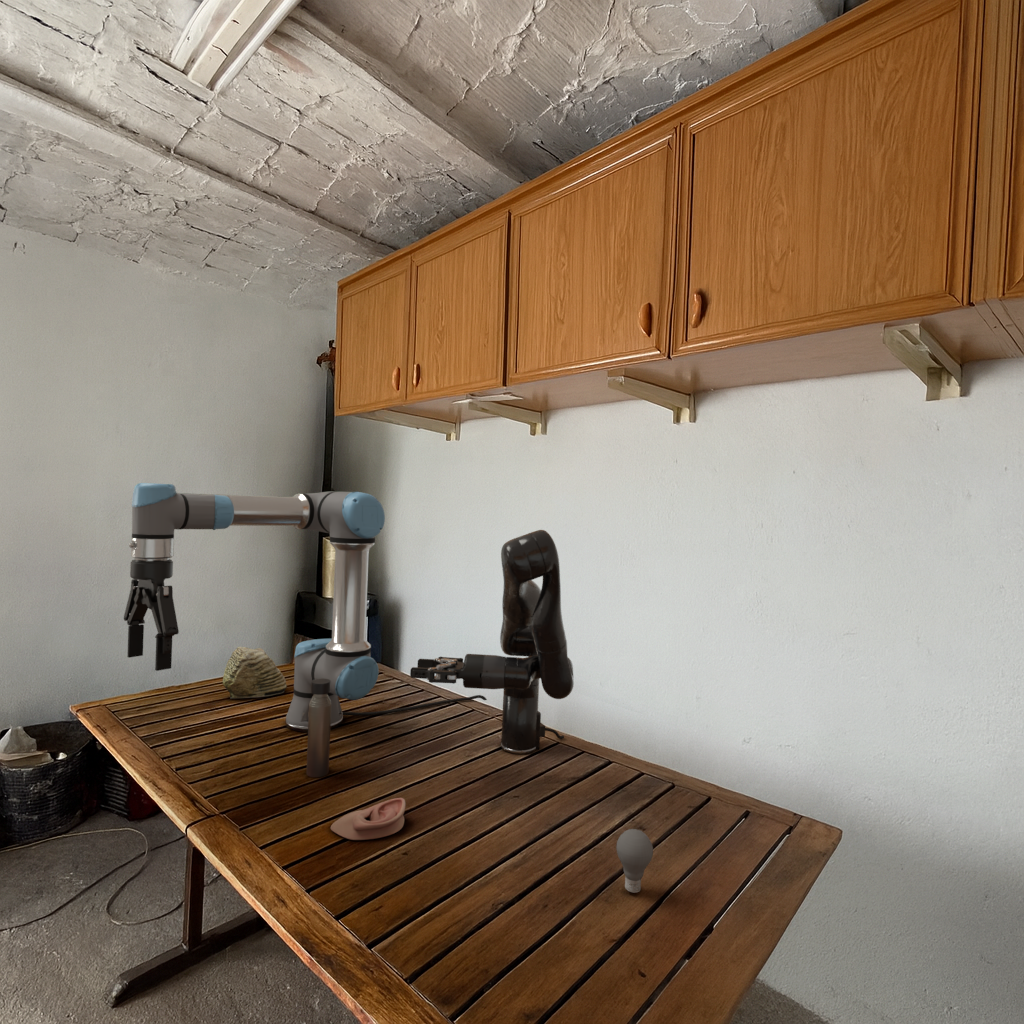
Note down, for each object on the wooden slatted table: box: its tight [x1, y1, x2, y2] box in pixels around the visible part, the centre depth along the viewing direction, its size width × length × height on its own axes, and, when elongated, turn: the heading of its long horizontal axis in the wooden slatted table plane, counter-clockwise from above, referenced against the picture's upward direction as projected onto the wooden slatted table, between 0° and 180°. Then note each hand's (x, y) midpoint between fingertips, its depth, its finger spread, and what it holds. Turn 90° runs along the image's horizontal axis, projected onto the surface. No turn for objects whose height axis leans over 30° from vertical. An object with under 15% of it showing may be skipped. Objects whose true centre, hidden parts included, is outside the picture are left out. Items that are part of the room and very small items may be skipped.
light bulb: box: [615, 828, 654, 894], centre depth 106 cm, size 6×6×10 cm
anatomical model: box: [330, 797, 407, 841], centre depth 123 cm, size 13×4×12 cm
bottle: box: [306, 694, 331, 778], centre depth 145 cm, size 5×5×21 cm
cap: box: [311, 679, 331, 695], centre depth 145 cm, size 4×4×2 cm
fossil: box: [222, 646, 288, 699], centre depth 198 cm, size 9×18×15 cm, turn 132°
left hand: (148, 662), depth 129 cm, fingers open, 13 cm apart
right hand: (414, 667), depth 144 cm, fingers open, 8 cm apart
